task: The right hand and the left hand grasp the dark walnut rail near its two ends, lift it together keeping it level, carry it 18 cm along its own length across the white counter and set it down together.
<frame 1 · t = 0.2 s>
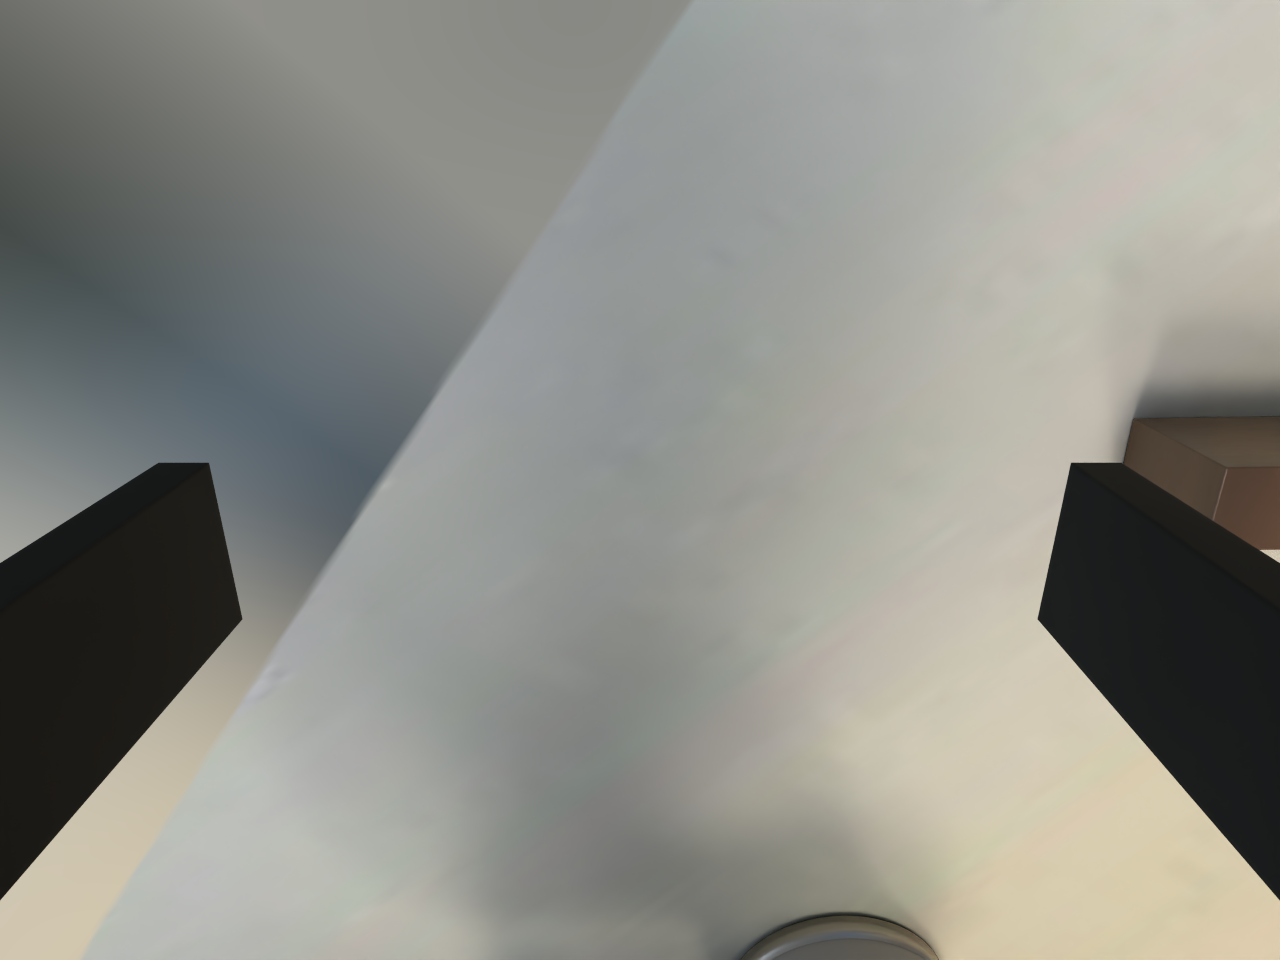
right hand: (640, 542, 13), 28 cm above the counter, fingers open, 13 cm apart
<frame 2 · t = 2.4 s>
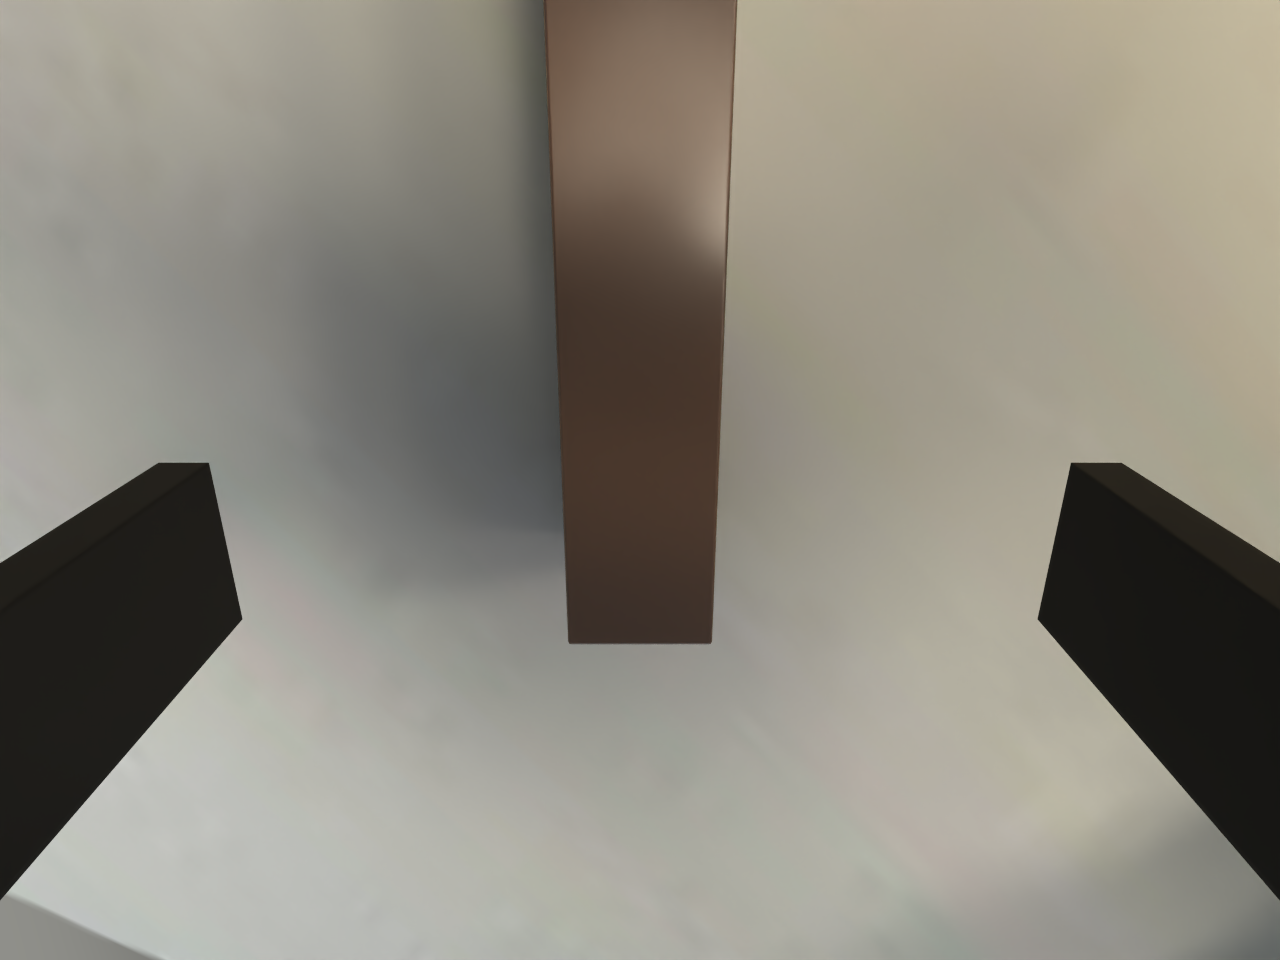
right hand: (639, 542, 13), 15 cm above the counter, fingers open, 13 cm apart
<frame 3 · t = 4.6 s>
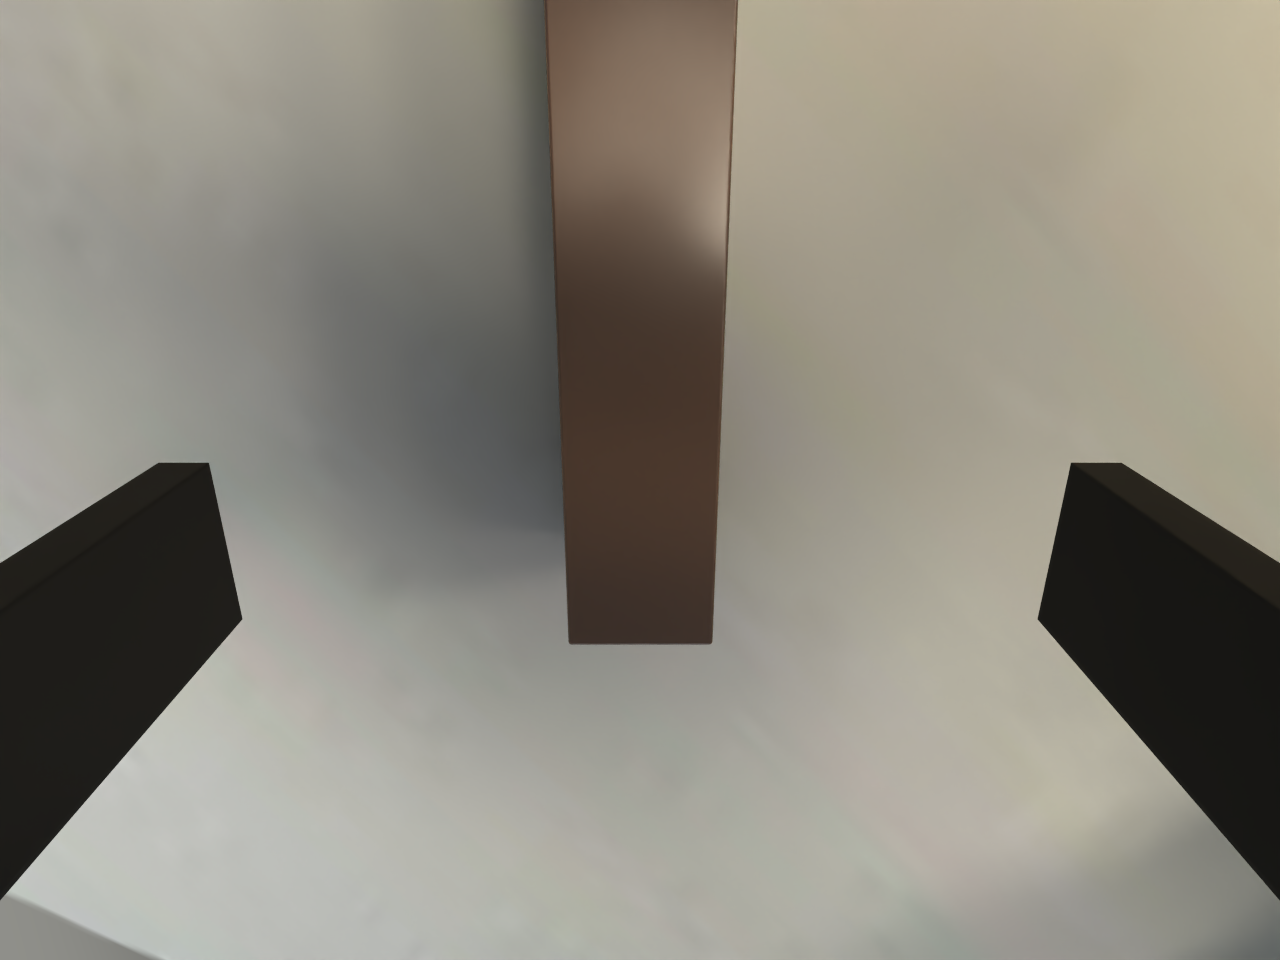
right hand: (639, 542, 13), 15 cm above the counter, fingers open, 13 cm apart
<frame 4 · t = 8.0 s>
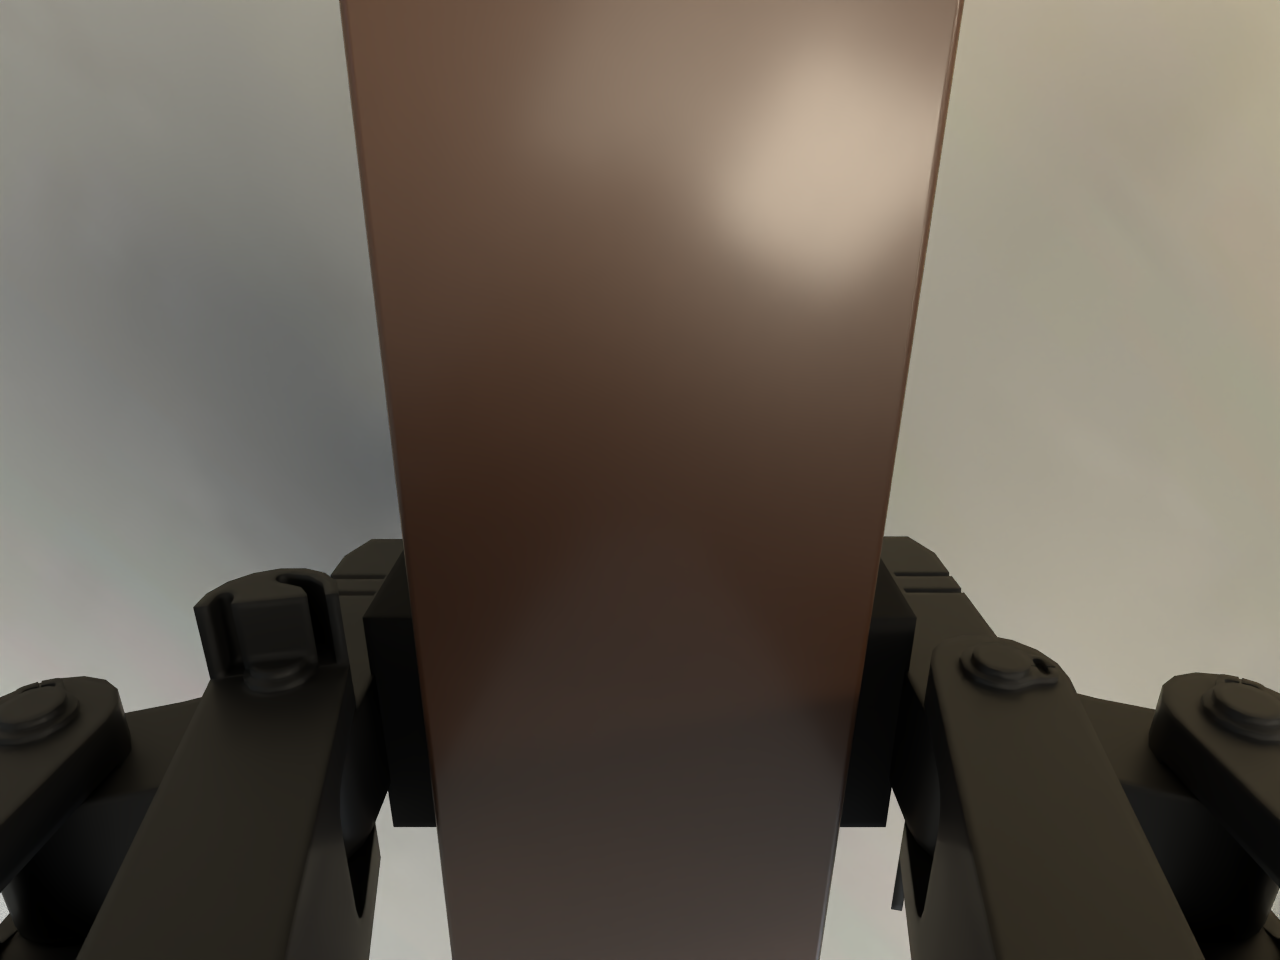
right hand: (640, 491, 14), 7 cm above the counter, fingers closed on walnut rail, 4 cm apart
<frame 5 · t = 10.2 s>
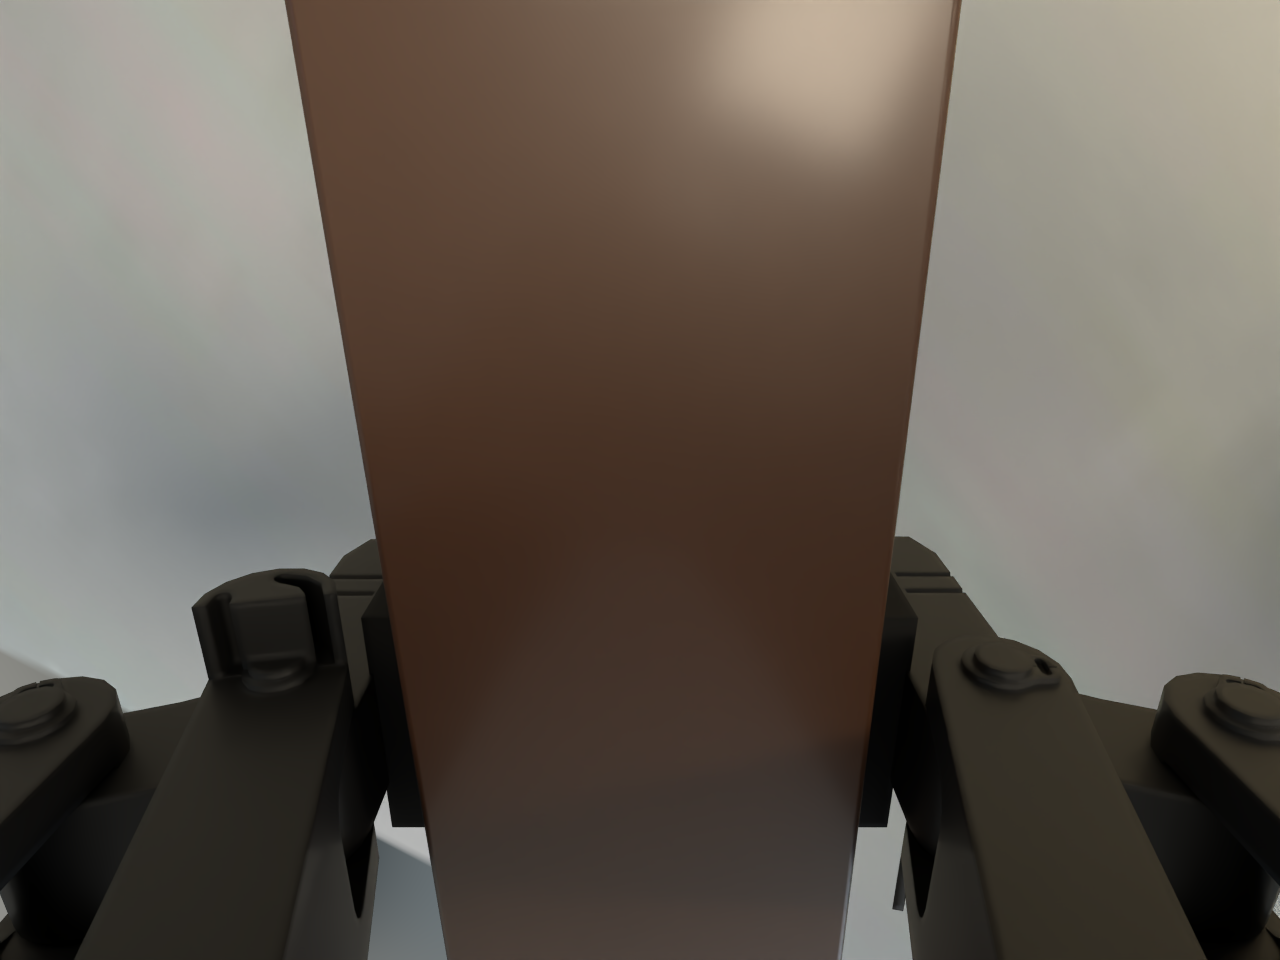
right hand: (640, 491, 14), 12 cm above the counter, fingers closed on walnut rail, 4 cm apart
when the right hand's fingers open (0 cm above the counter, at t = 13.0 s): walnut rail stays where it is, on the counter.
when the left hand's fingers open (4 cm above the counter, at t = 13.1 s): walnut rail stays where it is, on the counter.
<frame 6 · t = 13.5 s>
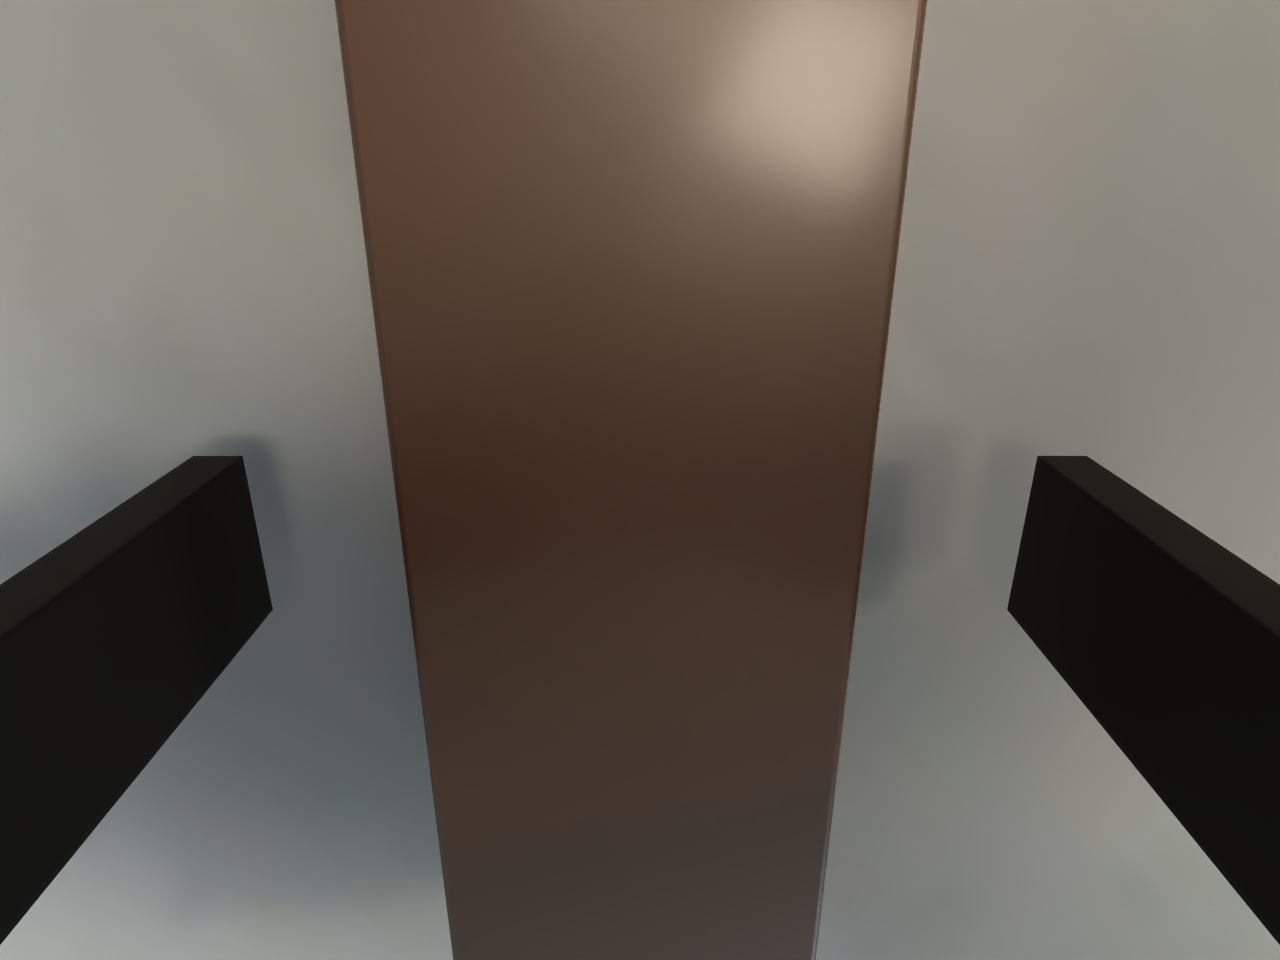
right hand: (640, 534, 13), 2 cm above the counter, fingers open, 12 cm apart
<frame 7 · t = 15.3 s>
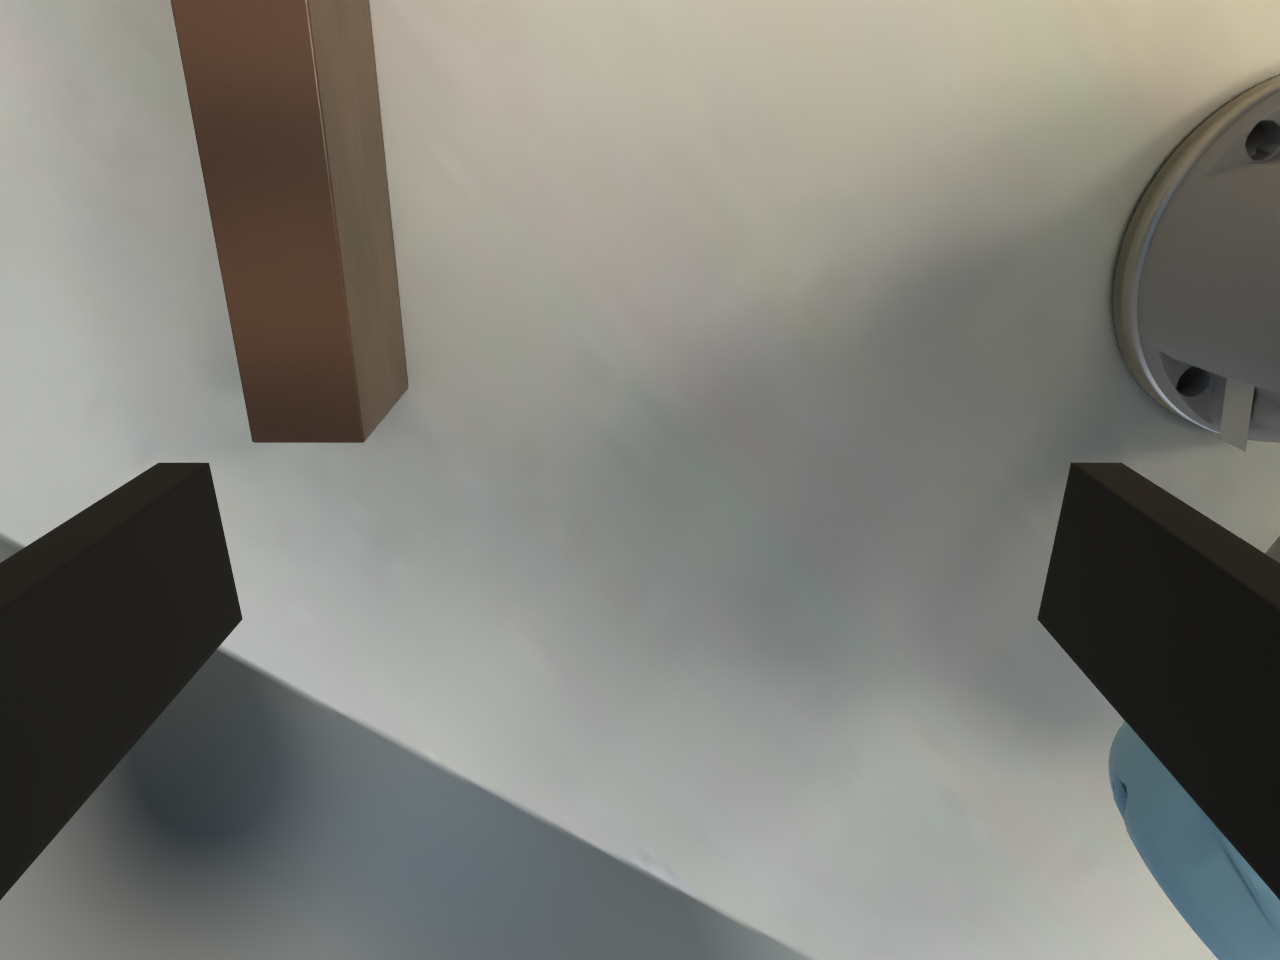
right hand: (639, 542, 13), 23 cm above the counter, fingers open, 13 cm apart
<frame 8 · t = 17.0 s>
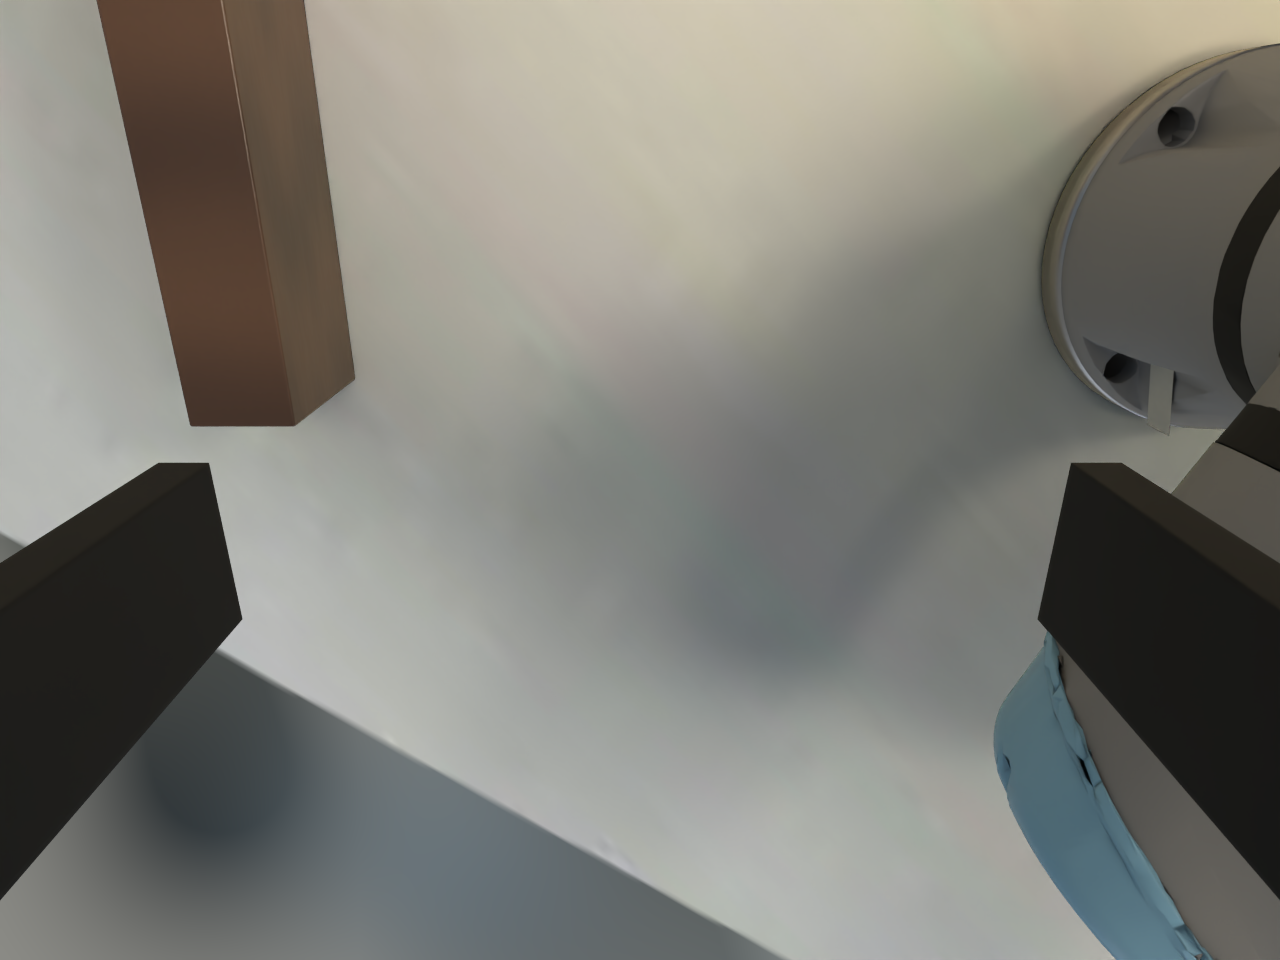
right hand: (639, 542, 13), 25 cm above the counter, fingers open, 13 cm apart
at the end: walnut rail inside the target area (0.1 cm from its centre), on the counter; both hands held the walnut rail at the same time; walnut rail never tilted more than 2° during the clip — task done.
